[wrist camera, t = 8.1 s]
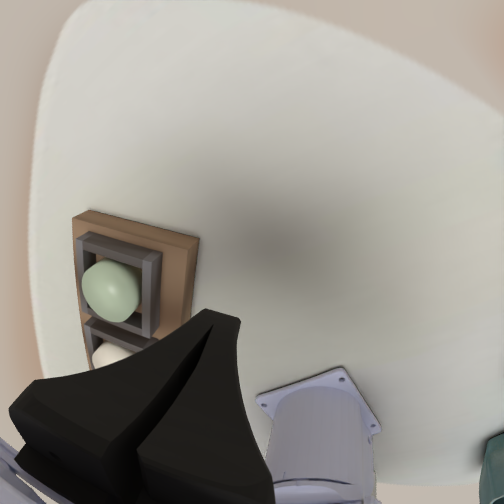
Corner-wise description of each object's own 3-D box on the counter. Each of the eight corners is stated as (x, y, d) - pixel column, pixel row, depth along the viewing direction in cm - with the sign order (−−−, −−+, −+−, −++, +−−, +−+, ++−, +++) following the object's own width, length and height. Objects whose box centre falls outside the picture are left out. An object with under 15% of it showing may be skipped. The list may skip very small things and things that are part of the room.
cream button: (102, 328, 23) (89, 342, 21) (146, 345, 22) (134, 362, 20) (107, 363, 24) (95, 377, 22) (147, 380, 24) (137, 396, 22)
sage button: (97, 247, 20) (79, 259, 18) (147, 263, 19) (131, 277, 17) (99, 296, 21) (84, 310, 20) (146, 314, 21) (132, 330, 19)
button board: (89, 209, 21) (58, 224, 18) (199, 238, 20) (177, 260, 17) (106, 394, 30) (91, 415, 27) (181, 424, 29) (170, 450, 26)
